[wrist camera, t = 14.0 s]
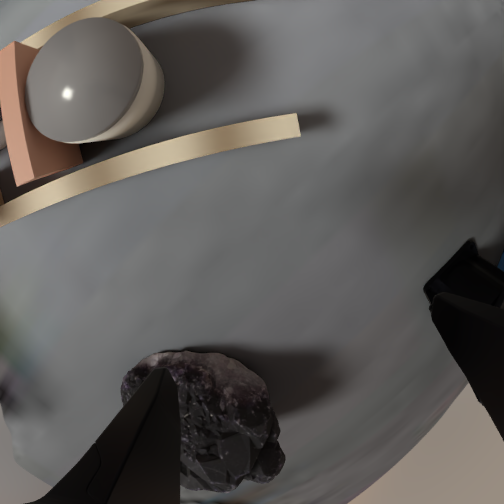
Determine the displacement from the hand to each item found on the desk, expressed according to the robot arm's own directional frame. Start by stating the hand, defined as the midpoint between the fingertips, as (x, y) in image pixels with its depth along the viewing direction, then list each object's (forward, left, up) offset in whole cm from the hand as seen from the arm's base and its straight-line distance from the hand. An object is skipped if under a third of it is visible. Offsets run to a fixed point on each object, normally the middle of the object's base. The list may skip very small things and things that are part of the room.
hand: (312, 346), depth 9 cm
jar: (0, -13, -11) cm, 17 cm away
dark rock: (+14, +8, -11) cm, 20 cm away
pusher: (+8, -17, -11) cm, 21 cm away
